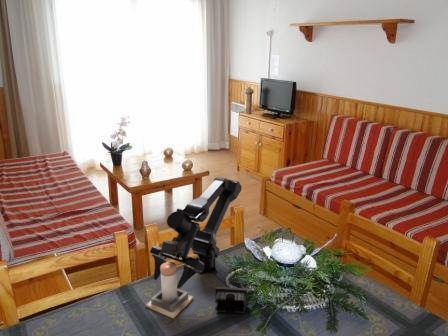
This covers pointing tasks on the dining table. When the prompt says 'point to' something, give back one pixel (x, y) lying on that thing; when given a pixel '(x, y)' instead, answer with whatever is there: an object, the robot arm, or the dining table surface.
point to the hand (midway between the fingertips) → (166, 284)
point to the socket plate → (167, 308)
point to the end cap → (231, 301)
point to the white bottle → (169, 282)
